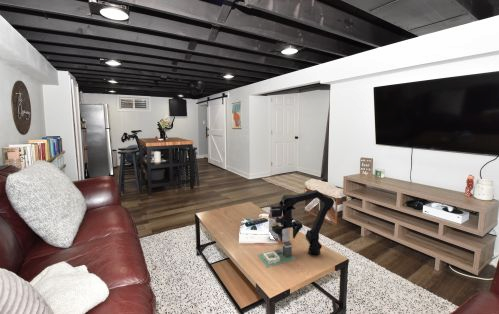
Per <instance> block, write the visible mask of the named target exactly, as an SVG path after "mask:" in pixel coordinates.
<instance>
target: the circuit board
mask: <svg viewBox="0 0 499 314" xmlns="http://www.w3.org/2000/svg"><path fill="white" fill-rule="evenodd" d="M257 257H258V258H259V259H260V261H261V262H262V263H263V264H264V265H265V267H266V268H270V267H274V266H277V265H280V264H284V263H289V262H292V261H295V260H297V258H296V257H295V256H294V255H293V254H292V256H290V257H287V258H286V257H285V256H284V255H283V247H282V248H278V249H275V250H271V251H268V252H263V253H259V254H257Z"/></svg>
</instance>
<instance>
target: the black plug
mask: <svg viewBox="0 0 499 314" xmlns="http://www.w3.org/2000/svg"><path fill="white" fill-rule="evenodd" d="M282 248H283V255H284V256H285V257H286V258H287V257H290V256H292V255H293V254H292V252H293V251H292V250H293V244H292V243H291V242H290V241H287V242H283V243H282Z"/></svg>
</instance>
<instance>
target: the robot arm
mask: <svg viewBox="0 0 499 314" xmlns="http://www.w3.org/2000/svg"><path fill="white" fill-rule="evenodd" d="M314 199H318V200H320V201H319V210H318V212H317V215H316V217H315V220H314V222H313V225H312V227H311V229H307V231H306V232H305V239H306V241H307V243H308V244H309V245H308V255H310V256H315V257H316V256H319V255H320V254H321V249H322V247H323V245H322V244H321V243H320V241H319V240H320V231H321V228H322V226H323V223H324V222H325V219H326V216H327V214H328V212H329V211H330V210H331V209H332V207H334V205H335V201H334V199H333V198H332V197H331V196H329V195H327V194H323V193H322V192H320V191H319V190H318V189H314V190H312V191H311V190H310V191H307V192H302V193H299V194H284V195H283V196H282V197H281V200H280V202H279V203H278V205H270V209H269V212H270V216H271V218H273V217H276V218H275V221H276V223H281V225H283V226H281V227H280V226H278V225H276V226H273V227H272V231H273V232H275V233H276V234H278V237H279V239H280V242H279V243H281V242H282V235H283V233H282V230H284V229H288V228H290V229H291V228H292V239H295V238H296V237H297V235H298V233H299V232H300V230H302V229H303V223H302V222H300V221H299V220H294V218H293V210H296V207H295V205H296V204H298V203H301V202H305V201H308V200H314ZM282 213H283V216H282ZM281 216H282V217H281ZM279 217H281V218H279Z"/></svg>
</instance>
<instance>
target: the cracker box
mask: <svg viewBox="0 0 499 314" xmlns="http://www.w3.org/2000/svg"><path fill="white" fill-rule="evenodd" d="M282 216H283V212H282ZM282 216H281V217H282ZM281 217H279V218H281ZM275 218H276V217H273V218H271V216H270V211H268V233H269V232H270V233H271V235H272V236H273V238H274V239H275V240H274V241H275V242H278V243H280V244H283V242H287V241H289V242H290V238H291V237H290V235H291V231H290V230H291V228H288V229H284V230H282V233H283V235H282V242H280V239H279V237H278V234H276V233H275V232H273V231H272V227H273V226H276V225H278V226H280V227H281V226H283V225H281V223H276V221H275Z"/></svg>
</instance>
